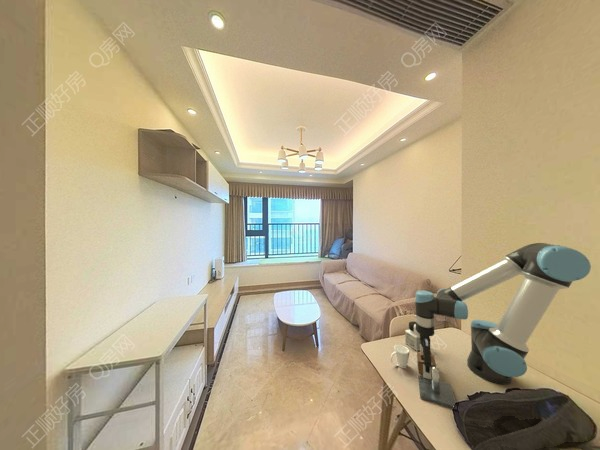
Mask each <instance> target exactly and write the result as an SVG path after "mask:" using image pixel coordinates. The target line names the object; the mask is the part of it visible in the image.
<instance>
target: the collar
mask: <svg viewBox="0 0 600 450" xmlns="http://www.w3.org/2000/svg"><path fill="white" fill-rule="evenodd" d="M416 357H417V358H416V360H417V361H416V363H417V371H418V375H421V376H424V364H422V362H424V355H423V353H420V351H419V352H418V351H417V352H416ZM431 365H432V367H437V363H436V359H435V356H434V355H431ZM432 367H431V378H432Z"/></svg>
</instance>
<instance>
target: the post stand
mask: <svg viewBox="0 0 600 450" xmlns="http://www.w3.org/2000/svg"><path fill="white" fill-rule="evenodd" d="M417 380H418V388H419V398H420V399H421V400H424V401H426V402H431V403H433V404H436V405H439V406H441V407H442V406H443V407H445V408H449V409H451V410H453V409H452V408H453V406H454V404H455V403H457V401H456V398H455V394H454V392H453V389H452V385H451V383H448V382H445V381H442V380H440V370H439V368H438V367H437V366H436V367H432V377H431V380H430V379H427V378H424V375H421V374H417Z"/></svg>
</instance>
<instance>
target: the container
mask: <svg viewBox="0 0 600 450" xmlns="http://www.w3.org/2000/svg"><path fill="white" fill-rule="evenodd" d="M404 333H405V334H404V335H405V337H404V339H405V344H406V345H407V344H408V346H409V347H410V346H411V348H412V349H413V348H414V349H413V350H415V351H417V352H418V351H420V345H421V344H420V340H419V339H420V333H418V332H417V331H416V321H412V320H411V321H409V322H408V329H405V331H404Z"/></svg>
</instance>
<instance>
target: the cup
mask: <svg viewBox="0 0 600 450" xmlns="http://www.w3.org/2000/svg"><path fill="white" fill-rule="evenodd" d="M393 350H394V351H393V352H392V353H391V354H390V357H389V358H390V359H389V360H390V362H391V364H393V365H394V366H395V367H400V368H404V369H406V368H407V367H408V363H409V356H410V350H409V348H408V347H407V346H405V345H403V344H395V345H394V346H393ZM394 355H395V360H396V364H395V363H394V362H393V356H394Z"/></svg>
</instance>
